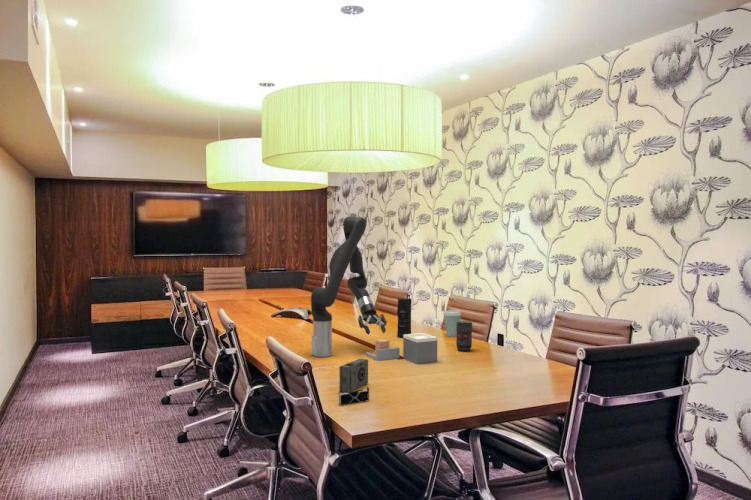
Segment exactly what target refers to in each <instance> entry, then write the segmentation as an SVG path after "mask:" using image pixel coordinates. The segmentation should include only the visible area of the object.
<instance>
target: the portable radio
mask: <svg viewBox="0 0 751 500" xmlns="http://www.w3.org/2000/svg"><path fill="white" fill-rule="evenodd" d="M408 295H409V297H408V298H405V297H400V298H398V299H397V309H396V315H397V333H396V334H397V338H399V337H400V338H402V339H403V335H405V334H412V302H413V301H412V298H411V294H408Z"/></svg>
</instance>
